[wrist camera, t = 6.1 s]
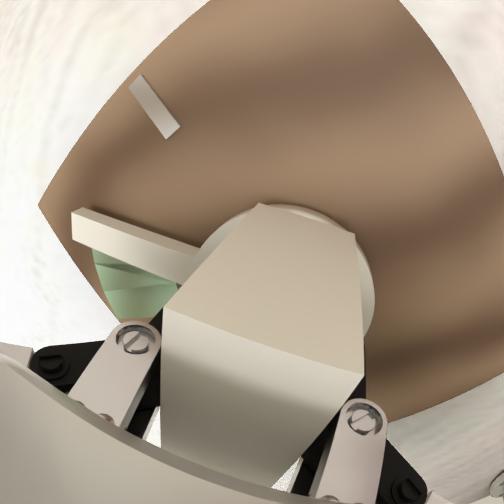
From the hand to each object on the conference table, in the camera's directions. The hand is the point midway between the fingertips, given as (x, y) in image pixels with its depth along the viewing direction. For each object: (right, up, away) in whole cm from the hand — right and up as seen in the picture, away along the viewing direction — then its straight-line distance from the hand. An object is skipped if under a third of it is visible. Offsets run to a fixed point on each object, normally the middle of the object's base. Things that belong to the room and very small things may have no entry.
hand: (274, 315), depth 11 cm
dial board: (+1, +1, +3) cm, 4 cm away
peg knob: (-3, +2, +2) cm, 4 cm away
